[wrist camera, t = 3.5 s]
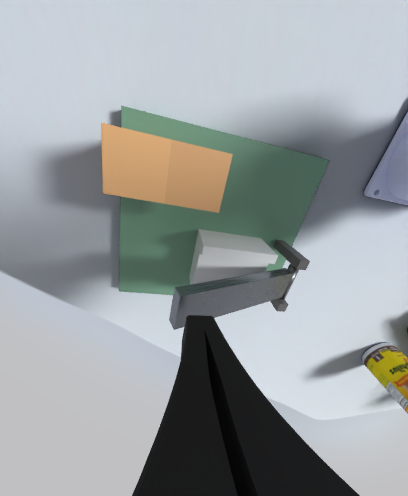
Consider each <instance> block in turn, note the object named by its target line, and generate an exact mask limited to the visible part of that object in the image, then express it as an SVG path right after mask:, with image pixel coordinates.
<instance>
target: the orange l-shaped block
mask: <svg viewBox="0 0 408 496" xmlns="http://www.w3.org/2000/svg"><path fill="white" fill-rule="evenodd" d="M101 136H102V176H103V193H104V194H110V195H116V196H121V197H127V198H133V199H139V200H145V201H151V202H157V203H163V204H169V205H175V206H181V207H187V208H193V209H199V210H205V211H211V212H217V213H219V210H220V206H221V202H222V197H223V193H224V189H225V185H226V181H227V177H228V172H229V168H230V164H231V160H232V156H233V154H230V153H226V152H222V151H218V150H213V149H209V148H205V147H201V146H197V145H193V144H188V143H184V142H180V141H176V140H172V139H167V138H163V137H159V136H155V135H151V134H146V133H142V132H138V131H134V130H130V129H126V128H121V127H117V126H113V125H109V124H105V123H101Z"/></svg>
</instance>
